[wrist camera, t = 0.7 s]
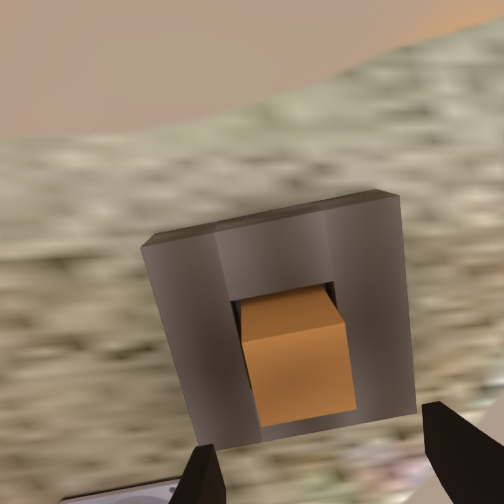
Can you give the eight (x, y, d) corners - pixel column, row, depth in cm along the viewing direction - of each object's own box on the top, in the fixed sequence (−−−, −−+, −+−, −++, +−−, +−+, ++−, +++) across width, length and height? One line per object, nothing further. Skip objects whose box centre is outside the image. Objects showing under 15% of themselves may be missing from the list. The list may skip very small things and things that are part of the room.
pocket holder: (205, 416, 24) (201, 453, 21) (154, 234, 20) (140, 247, 17) (395, 381, 23) (417, 413, 21) (376, 189, 20) (399, 195, 17)
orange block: (255, 355, 22) (261, 427, 16) (241, 290, 21) (241, 342, 15) (325, 341, 22) (356, 409, 16) (315, 275, 21) (344, 322, 15)
